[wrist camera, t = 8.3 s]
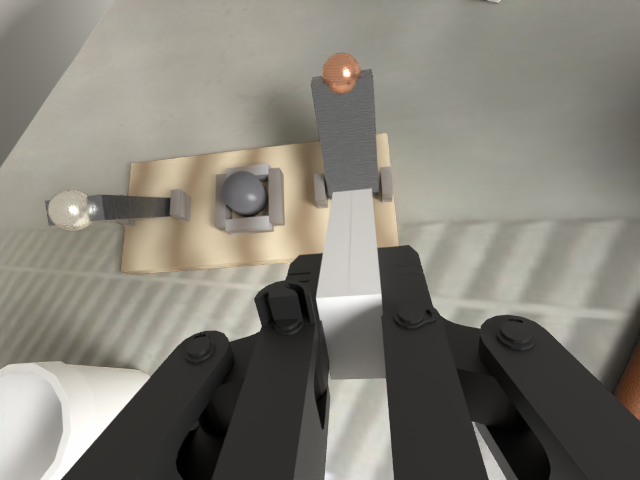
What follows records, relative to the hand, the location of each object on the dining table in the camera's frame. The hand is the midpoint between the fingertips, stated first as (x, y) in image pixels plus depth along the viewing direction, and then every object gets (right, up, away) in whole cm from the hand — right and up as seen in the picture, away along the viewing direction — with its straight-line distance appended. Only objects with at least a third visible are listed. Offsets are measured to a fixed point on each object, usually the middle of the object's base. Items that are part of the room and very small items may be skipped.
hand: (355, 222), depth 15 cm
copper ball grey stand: (+2, +4, +23) cm, 23 cm away
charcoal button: (-9, +4, +24) cm, 26 cm away
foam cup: (-21, -18, +24) cm, 37 cm away
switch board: (-8, +3, +27) cm, 29 cm away
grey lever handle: (-20, +3, +26) cm, 32 cm away
